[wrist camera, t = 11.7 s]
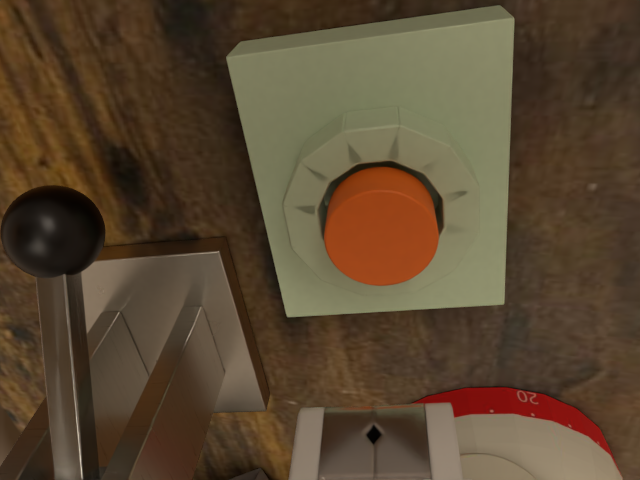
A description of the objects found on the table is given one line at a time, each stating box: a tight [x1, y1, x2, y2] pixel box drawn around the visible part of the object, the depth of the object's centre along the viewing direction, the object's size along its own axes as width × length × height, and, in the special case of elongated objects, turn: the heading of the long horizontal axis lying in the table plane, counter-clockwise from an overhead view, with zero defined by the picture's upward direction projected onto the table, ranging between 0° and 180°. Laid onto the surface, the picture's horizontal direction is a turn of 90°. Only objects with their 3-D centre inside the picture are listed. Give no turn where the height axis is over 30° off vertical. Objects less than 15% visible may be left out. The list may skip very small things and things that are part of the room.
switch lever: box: [1, 185, 108, 480], centre depth 19 cm, size 13×3×3 cm
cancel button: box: [324, 167, 439, 286], centre depth 18 cm, size 4×4×2 cm
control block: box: [226, 5, 514, 317], centre depth 20 cm, size 11×9×4 cm
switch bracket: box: [0, 237, 270, 480], centre depth 22 cm, size 10×8×12 cm
